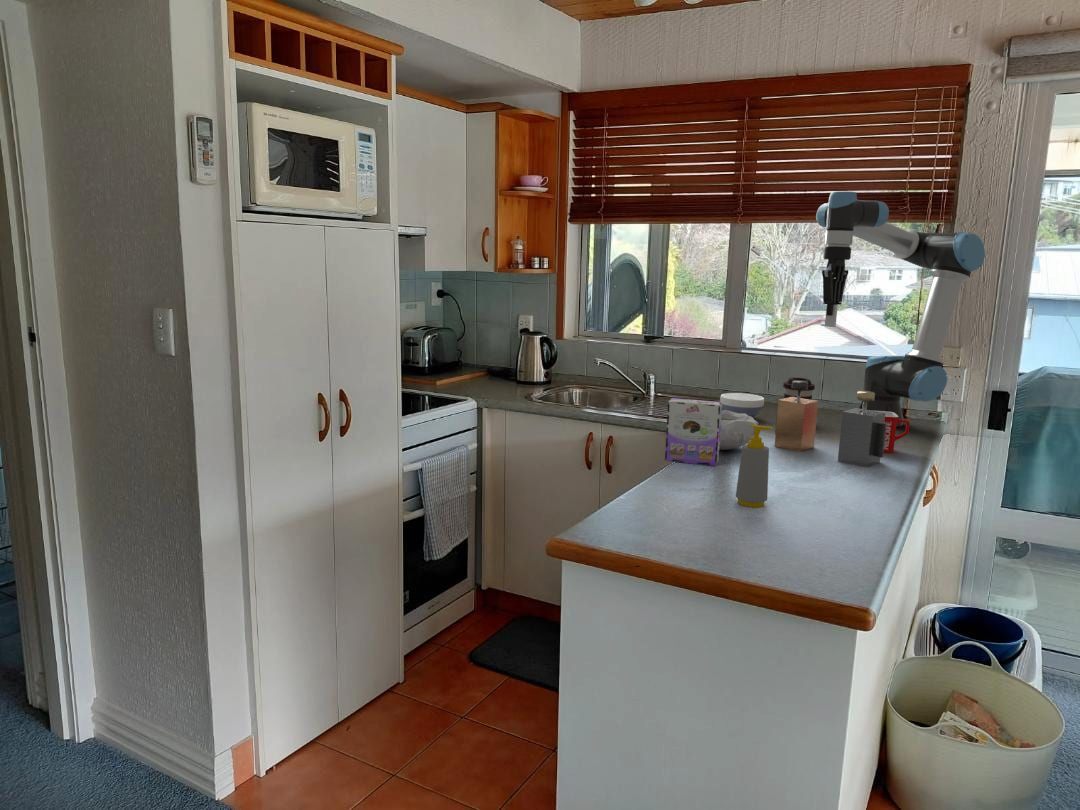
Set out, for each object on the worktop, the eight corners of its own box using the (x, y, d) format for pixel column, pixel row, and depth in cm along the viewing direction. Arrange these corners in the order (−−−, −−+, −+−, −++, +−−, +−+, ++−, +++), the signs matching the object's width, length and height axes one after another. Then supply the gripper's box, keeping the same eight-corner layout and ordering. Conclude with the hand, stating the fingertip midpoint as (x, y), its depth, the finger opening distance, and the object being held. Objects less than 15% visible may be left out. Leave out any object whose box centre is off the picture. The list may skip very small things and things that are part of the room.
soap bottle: (762, 510, 175) (768, 429, 171) (730, 504, 178) (737, 425, 175) (771, 502, 180) (777, 424, 177) (740, 496, 184) (746, 420, 181)
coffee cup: (812, 427, 262) (817, 382, 259) (781, 425, 264) (785, 380, 261) (809, 421, 272) (813, 377, 269) (778, 419, 274) (782, 375, 271)
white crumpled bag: (685, 437, 242) (687, 405, 240) (755, 442, 238) (757, 409, 236) (683, 454, 222) (685, 418, 220) (759, 460, 218) (762, 424, 216)
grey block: (850, 456, 225) (855, 408, 222) (887, 463, 218) (892, 413, 215) (837, 461, 219) (842, 411, 217) (874, 468, 212) (880, 417, 210)
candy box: (719, 461, 215) (723, 401, 212) (716, 466, 210) (720, 405, 207) (667, 456, 220) (671, 396, 216) (663, 461, 214) (667, 400, 211)
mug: (865, 451, 231) (868, 415, 229) (860, 445, 239) (863, 410, 237) (909, 454, 229) (913, 418, 227) (902, 448, 237) (907, 412, 235)
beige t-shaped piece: (853, 450, 223) (859, 389, 220) (874, 454, 219) (881, 392, 216) (844, 454, 219) (850, 391, 216) (865, 458, 215) (872, 395, 212)
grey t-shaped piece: (790, 436, 238) (795, 379, 235) (809, 440, 234) (814, 382, 231) (780, 439, 234) (785, 381, 231) (799, 443, 230) (805, 384, 227)
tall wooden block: (781, 440, 242) (785, 395, 239) (813, 447, 235) (818, 400, 232) (768, 444, 236) (772, 398, 233) (800, 451, 229) (805, 404, 226)
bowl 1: (768, 418, 276) (770, 396, 274) (754, 425, 263) (756, 402, 262) (727, 412, 283) (728, 391, 282) (712, 419, 271) (714, 397, 270)
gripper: (835, 246, 242) (827, 324, 246) (815, 245, 233) (808, 326, 237) (859, 246, 237) (851, 326, 241) (840, 245, 228) (832, 328, 232)
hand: (830, 326), depth 239 cm, fingers closed
